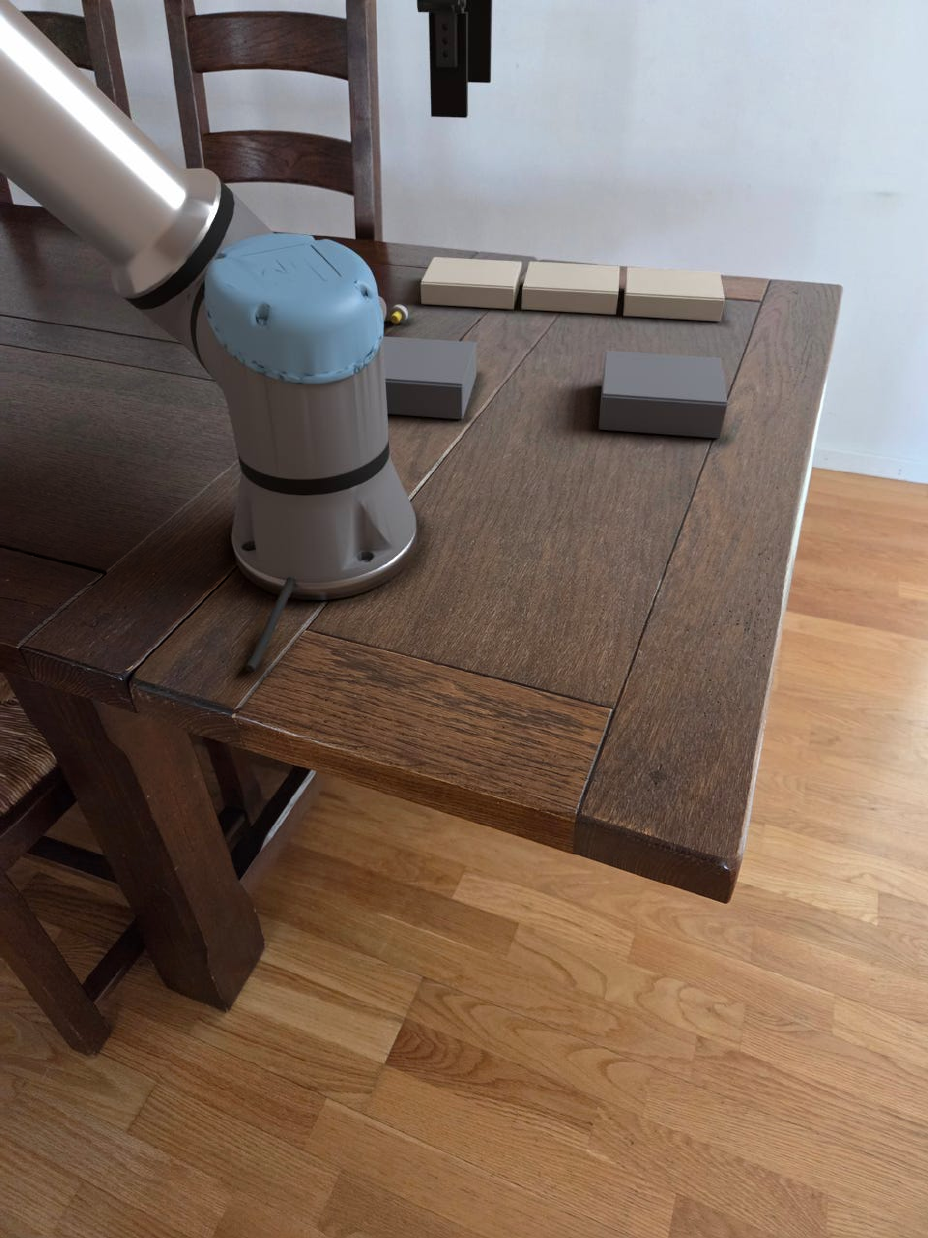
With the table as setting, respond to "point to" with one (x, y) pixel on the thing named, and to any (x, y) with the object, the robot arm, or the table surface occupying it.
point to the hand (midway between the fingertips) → (463, 98)
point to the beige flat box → (571, 288)
